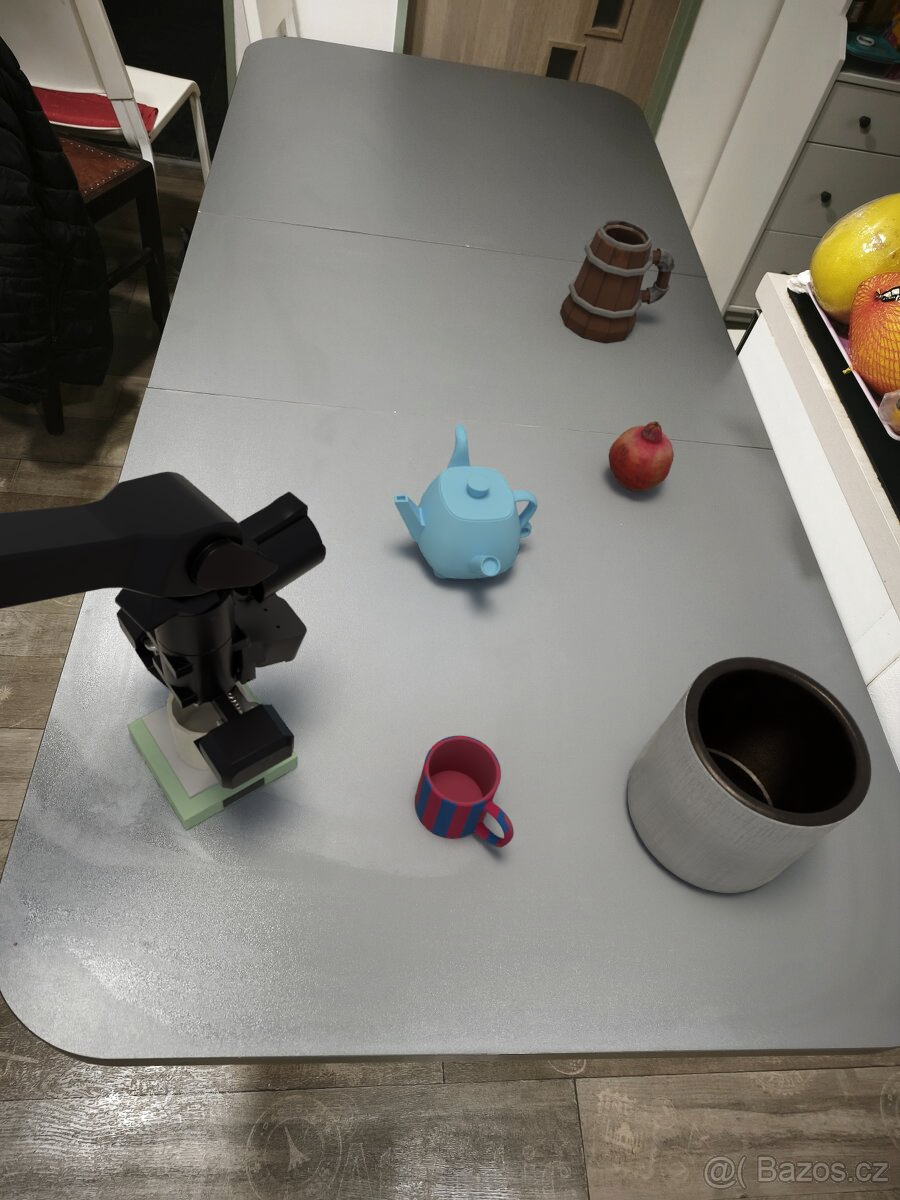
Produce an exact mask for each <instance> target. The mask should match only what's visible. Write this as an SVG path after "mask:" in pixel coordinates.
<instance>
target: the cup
mask: <svg viewBox="0 0 900 1200" xmlns="http://www.w3.org/2000/svg"><path fill="white" fill-rule="evenodd" d="M501 769H502V768H501V765H500V762H499V759H498V758H497V756H496V754H495V753H494V751H493V750H492V749H491V748H490V747H489V746H488V745H487V744H485V743H484V742H483V741H481V740H479V739H477V738H474V737H471V736H468V735H452V736H447V737H444V738H442V739H440V740H438V741H437V742H436V743H434V745H432V746H431V748H430V749H429V750H428V752H427V753H426V755H425V760H424V762H423V766H422V770H421V773H420V776H419V780H418V784H417V788H416V792H415V795H414V809H415V812H416V815H417V817H418V819H419V821H420V822H421V823H422V825H423V826H424V827H425V828H426V829H427V830H428V831H430V832H432V833H433V834H435V835H437V836H439V837H442V838H447V839H460V838H465V837H468V836H470V835H471V834H473V833H475V834H476V835H477V836H479V837H480V838H481V839H482V840H484V841H485V842H487V843H488V844H490V845H492V846H494V847H495V848H504V847H506V846H507V845H508V844H509V843H510V842H511V841H512V840H513V838H514V836H515V835H514V834H515V831H514V826H513V822H512V821H511V819H510V817H509V816H508V815H507V814H506V812H505V811H504V810H503V809H502V808H501V807H499V805H498V804H496V803H495V802H494V801H493V800H494V798H495V796H496V793H497V791H498V789H499V786H500V784H501V778H502V770H501ZM487 814H488V815H490V816H491V818H493V819H494V820H495V821H496V823H497V824H498V825H499V827H500V828H501V830H502V832H503V837H500V836H499V835H497V834H495V833H494V831H492V830H491V829H489V828H488V826H486V825H485V823H484V820H485V818H486V815H487Z"/></svg>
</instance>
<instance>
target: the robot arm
mask: <svg viewBox="0 0 900 1200" xmlns="http://www.w3.org/2000/svg"><path fill="white" fill-rule="evenodd" d="M308 510H309V506H308V504H306V503H305V502H304V501H303V500H301V499H300V498H299V497H298V496H296V495H295V494H294V493H293V492H291V491H287V492H286V493H284V494H282V495H280V496H279V497H277V498H275V499H274V500H273V501H272V502H271V503H268V505H267V506H265V507H263V508H261V509H260V510H258V511H256V512H254V513H252V514H251V515H249V516H248V517H245V518H243V519H242V520H241V521H239V522H238V521H237V520H235V519H234V518H233V517H232V516H231V515H230V514H228V512H227V511H225V510H224V509H223V508H222V507H220V506H219V505H218V504H217V503H216V502H215V501H213V500H212V499H211V498H210V497H209V496H208V495H206V494H205V493H204V492H203V491H202V490H201V489H200V488H199V487H197V486H196V485H195V484H194V483H192V482H191V480H189V479H188V478H187V477H185V476H184V475H182V474H180V473H178V472H176V471H162V472H161V471H160V472H157V473H152V474H149V475H144V476H141V477H136V478H131V479H127V480H124V481H120V482H117V483H115V485H114V486H113V487H111V489H109V490H108V491H107V492H105V494H104V495H103V496H101V498H99V500H96V501H92V502H88V503H83V504H78V505H77V504H76V505H66V506H57V507H47V508H37V509H26V510H17V511H16V510H15V511H5V512H4V511H3V512H0V610H2V609H8V608H13V607H18V606H22V605H28V604H33V603H39V602H43V601H48V600H52V599H53V600H54V599H58V598H63V597H69V596H73V595H77V594H79V595H80V594H84V593H89V592H94V591H99V590H105V589H120V591H119V592H118V593H117V595H116V596H115V597H114V603H115V604H116V605H117V606H118V607H119V609H118V610H117V612H116V617H117V621H118V625H119V628H120V630H121V631H122V633H123V634H124V635H125V637H126V639H127V641H128V642H129V644H130V645H131V646H132V648H133V649H134V651H135V653H136V655H137V656H138V658H139V659H140V661H141V663H142V664H143V665H144V667H145V669H146V670H147V672H149V673H150V674H151V675H152V676H153V677H154V678H155V679H156V680H157V681H159V682H160V683H161V684H162V685H163V687H165V688H166V689H168V691H170V693H171V692H172V694H173V695H174V697H175V698H176V700H177V701H178V703H179V705H180V706H181V708H182V709H184V708H186V707H188V706H190V705H192V704H194V705H195V706H200V705H202V704H204V703H207V702H211V704H212V705H213V707H214V708H215V710H216V711H217V713H218V714H219V716H220V717H221V719H220V720H218V721H217V726H218V727H216V728H214V729H212V730H210V731H209V732H208V733H207V734H206V735H204V736H202V737H200V738H198V739H196V740H194V741H193V742H194V744H195V746H196V747H197V749H198V750H199V752H200V754H201V755H202V757H203V758H204V760H205V761H206V763H207V764H208V766H209V767H210V769H211V771H212V772H213V774H214V775H215V777H216V778H217V780H218V782H219V783H220V785H221V786H222V788H227V789H232V790H233V789H235V788H237V787H238V786H240V785H242V784H244V783H245V782H247V781H249V780H251V779H252V778H254V777H256V776H258V775H259V774H261V773H263V772H265V771H267V770H268V769H270V768H272V767H274V766H275V765H277V764H279V763H281V762H282V761H284V760H286V759H288V758H289V757H291V756H292V754H293V750H294V749H295V734H294V733H293V732H292V731H291V730H292V729H290V728H289V726H288V725H287V723H286V722H285V720H284V719H283V718H282V717H281V715H280V714H279V712H278V711H277V709H276V707H275V706H274V705H273V704H271V703H261V704H259V703H257V702H248V701H247V700H246V698H245V697H244V695H243V694H242V693H241V691H240V690H239V688H238V687H237V685H236V684H235V683H236V682H238V681H239V682H240V683H241V685H244V684H246V683H247V684H248V683H250V682H251V681H253V680H256V679H257V671H256V670H257V668H258V669H259V668H261V669H262V668H265V667H269V666H273V665H276V664H280V663H284V662H285V663H289V662H292V661H294V660H295V659H296V657H297V655H298V652H299V650H300V648H301V646H302V643H303V641H304V639H305V636H306V634H307V631H308V629H307V626H306V624H305V623H304V622H303V621H302V619H301V618H300V616H299V615H298V613H296V612H295V610H294V609H293V608H292V606H291V605H290V603H288V602H287V600H286V599H285V598H283V597H281V596H279V595H278V594H277V593H278V592H279V591H281V590H282V589H284V588H285V587H287V586H288V585H290V584H291V583H293V582H294V581H297V580H298V579H299V578H300V577H302V576H303V575H305V574H307V573H309V572H310V571H312V570H314V568H316V567H317V566H318V565H320V564H322V563H323V562H324V561H325V560H326V556H327V548H326V546H325V544H324V543H323V539H322V537H321V534H320V532H319V531H318V529H317V526H316V525H315V523H314V522H313V520H312V519H311V517H310V516H309V514H308ZM226 694H227V695H226ZM228 697H229V698H230V699H229V698H228ZM230 700H232V702H231V701H230ZM233 704H235V705H233ZM234 706H235V707H234ZM236 707H238V708H237V710H236ZM240 711H242V714H241V713H240ZM294 751H295V750H294Z"/></svg>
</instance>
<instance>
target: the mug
mask: <svg viewBox="0 0 900 1200" xmlns="http://www.w3.org/2000/svg"><path fill="white" fill-rule="evenodd" d="M583 247H584V248H583V250H584V252H585V254H586V255H585V258H584V260H583V262H582V265H581V268H580V269H579V271H578V274H577V275H576V276H575V277H574V278H573V279H572V280H571V281H570V282H569V284H568V286H567V287H568V291H569V293H568V295H567V296H566V297H565V298H564V299H563V301H562V304H561V307H560V311H559V313H560V316H561V319H562V321H563V323H564V326H566V327H567V328H568V329H570V330H571V331H572V332H574V333H576V334H577V335H578V336H580V337H582V338H584V339H588V340H593V341H596V342H600V343H603V344H607V343H608V344H609V343H615V342H621V341H625V340H626V339H627V338H628V336H629V335H630V334H631V333H632V331H633V330H634V327H635V324H636V322H637V311H638V310H639V309H640V307H641V306H642V304H643V303H644V304H645V303H646V304H647V305H652V304H654V303H657V302H658V301H660V300H661V299H662V298H663V297H664V296H665V295H666V294H667V292H669V290H670V288H671V286H670V284H669V283H670V280H671V279H670V278H671V274H672V271H674V269H675V266H676V264H675V259H674V258H673V256H672V254H671V253H670V252H669V251H668V250H667V249H665V248H662V247H658V248H656V249H652V247H653V244H652V237H651V236H650V234H649V232H648V230H647V229H645V228H644V227H642V226H640V225H639V224H637V223H635V222H633V221H628V220H624V219H620V218H618V219H608V220H605V221H604V222H603V223H602V224H600V226H599V228H597V230H596V231H595V234H594V236H593V237H592V238H590V239H589V241H588V242H587V243H586V244H584V246H583ZM653 265H654V266H655V267H656V268H657V270H658V272H657V275H656V280H654V282H653V284H652V286H651V287H650V286H649V287H646V288H645V289H642V285H643V281H644V278H645V274H646V273H647V272H648V270H649V269H650V268H651V267H652V266H653Z"/></svg>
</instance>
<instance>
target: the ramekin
mask: <svg viewBox="0 0 900 1200" xmlns="http://www.w3.org/2000/svg"><path fill="white" fill-rule="evenodd" d="M235 684H236V685H237V687H238V688H239V690H240V691H241V693H242V694H243V695H244V697H245V698H246V693H245V690H244V689H243V687H242V686H241V685H240V683H239V682H236V683H235ZM226 695H227V694H226ZM228 698H229V697H228ZM229 699H230V698H229ZM230 701H231V702H232V700H230ZM166 705H167V714H168V719H169V724H170V729H171V733H172V738H173V742H174V747H175V749H176V751H177V754H178V755H179V757H180V758H181V759H182V760H183V761H184V762H185V763H186V764H187V765H189V766H191V767H193V768H196V769H199V770H206V771H211V769H210V767H209V766H208V764H207V763H206V761H205V760H204V758H203V757H202V755H201V754H200V752H199V750H198V749H197V747H196V746H195V744H194V742H193V741H194V740H196V739H198V738H200V737H202V736H204V735H206V734H207V733H208V732H209V731H210V730H212V729H214V728H216V727H218V726H217V721H218V720H220V719H221V717H220V716H219V714H218V713H217V711H216V710H215V708H214V707H213V705H212V704H211V702H207V703H204V704H202V705H200V706H195V705H194V704H192V705H190V706H188V707H186V708H184V709H182V708H181V706H180V705H179V703H178V701H177V700H176V698H175V697H174V695H173V694H172V692H171V691H170V694H169V696H168V698H167V700H166ZM233 705H235V704H233ZM234 707H235V706H234ZM237 708H238V707H236V710H237ZM240 713H241V714H242V711H240Z"/></svg>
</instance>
